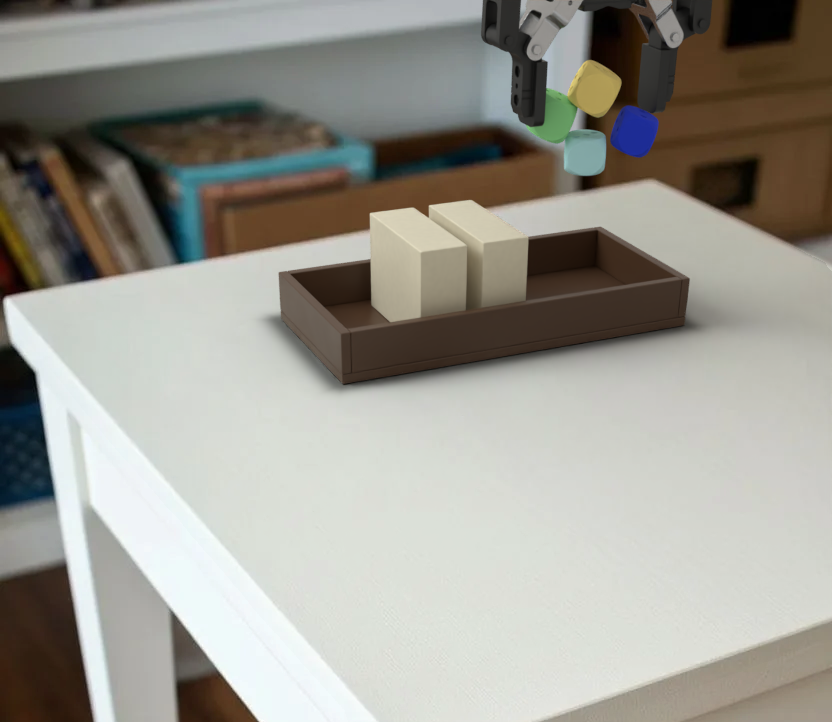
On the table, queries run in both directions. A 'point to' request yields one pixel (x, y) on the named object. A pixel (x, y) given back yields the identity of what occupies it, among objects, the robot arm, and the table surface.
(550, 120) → the dice
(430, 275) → the block
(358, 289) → the tray
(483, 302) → the block
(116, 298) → the table surface
